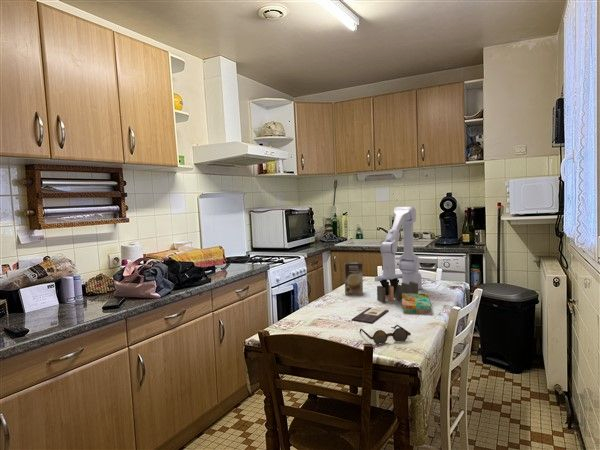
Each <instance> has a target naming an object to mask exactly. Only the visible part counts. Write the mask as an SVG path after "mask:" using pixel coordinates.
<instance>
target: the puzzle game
mask: <svg viewBox="0 0 600 450" xmlns="http://www.w3.org/2000/svg"><path fill="white" fill-rule="evenodd" d="M430 300H431V299H430V297H429V293H419V292H418V293H402V300H401V309H402V311H403V313H405V314H407V313H408V314H409V313H410V314H429V313H430V311H431V310H432V307H431V302H430Z"/></svg>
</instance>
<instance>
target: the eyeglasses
mask: <svg viewBox="0 0 600 450" xmlns="http://www.w3.org/2000/svg"><path fill="white" fill-rule="evenodd" d="M397 327H398V328H397ZM390 328H392V329H395V330H393V331H392V332H388V333H386V332H385V331H384V330H381V329H379V330H376V331H375V332H373V336H371V335H370V334H369V333H367V332H366V330H364V329H362V328H360V329H359V330H360V331H359V333H361V332H363V334H364V335H366V336H367V338H368V339H369V340H372V341H373V342H374V343H375V345H380V344H379V343H384V344H385V343H386V342H387V340H388V338H390V337H392V338H393V341H395V342H396V341H400V342H406V341H407V339H408V336H411V335H412V333H411V332H410V331H408V330H407V329H405V328H404V327H402V326H401V325H399V324H396V325H395V326H391V327H390Z"/></svg>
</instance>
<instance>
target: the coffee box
mask: <svg viewBox="0 0 600 450" xmlns="http://www.w3.org/2000/svg"><path fill="white" fill-rule="evenodd" d="M363 279H364V278H363V262H362V261H344V293H345V295H348V296H350V295H353V296H356V295H357V296H358V295H364V289H363V288H364V286H363V285H364V284H363V283H364V280H363Z"/></svg>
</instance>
